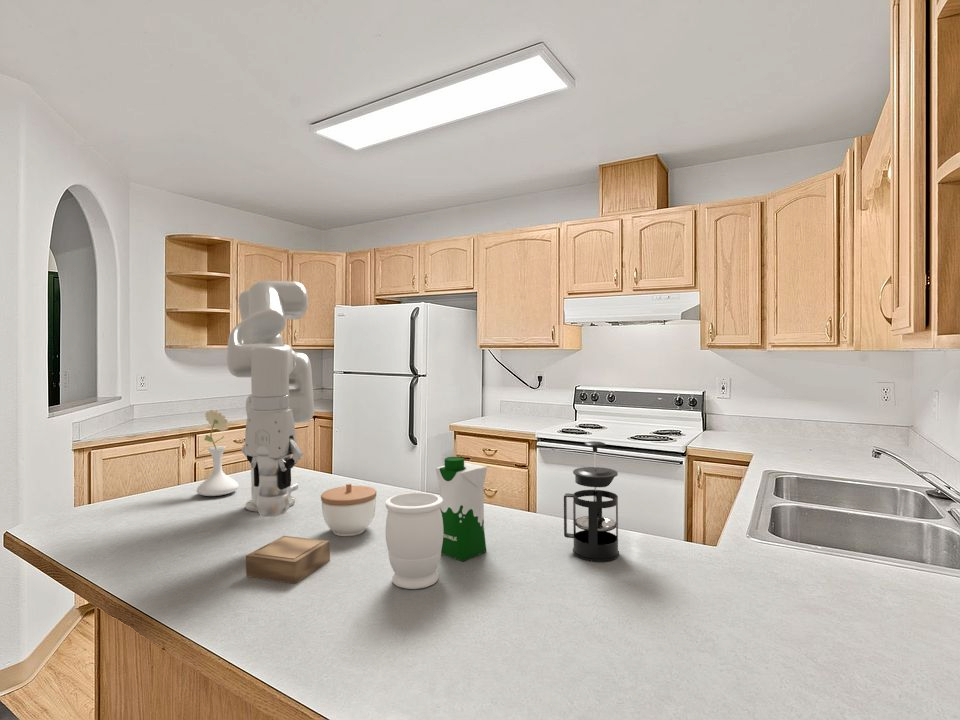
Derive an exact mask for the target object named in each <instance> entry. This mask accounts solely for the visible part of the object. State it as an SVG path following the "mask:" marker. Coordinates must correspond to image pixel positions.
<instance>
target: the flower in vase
mask: <svg viewBox="0 0 960 720" xmlns="http://www.w3.org/2000/svg"><path fill="white" fill-rule="evenodd" d="M204 415H205V420H206V421H207V422H208V424H209V425H211V430H210V436H209V435H208V434H206V435H205V437H204V441H207V442H209V443H212V445H213V446H210V447H208V448H207V450H208V451H209V453H210V455H211V457H212V458H211V459H212V465H213V467H212V472H211V474H210V476H208V477H206V479H205V480H204V481H202V482H201V483H200V484H199V486H197V487H196V492H197V494H198V495H200V496H205V497H206V496H207V497H216V496H217V497H218V496H223V495H228V494H231V493H233V492H235V491H237V490H238V489H239V487H240V485H239V483H238V482H237V481H236V480H235V479H233V478H232V477H230V476H229V475H227V474H226V473H225V472H224V471H223V467H222V466H223V465H222V463H223V462H222V461H223V454H224V452H225V450H226V448H227V446H226V445H225V446H224V445H218V446H217V445H216V443H218V442H219V441H220V440H222V439H224V435H222V437H221V438H218V439H217V440H216V441H214V439H213V436H212V435H213V430H214V429H215V430H218V431H221V432H224V431H227V430H229V425H230V424H229V422H228V419H227V418H226V415H224V414H222V412H219V411H218V410H217V409H216V410H215V411H214V410H213V409H211V408H210V409H209V410H208V411H206V412H205V414H204Z"/></svg>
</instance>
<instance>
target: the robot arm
mask: <svg viewBox="0 0 960 720" xmlns="http://www.w3.org/2000/svg"><path fill="white" fill-rule="evenodd" d="M308 306H309V296H308V291H307V289H306V287H305V286H304V284H302V283H300V282H298V281H289V280H288V281H284V280H280V281H279V280H261V281H257V282H256V283H254V284H252V285H251V287H249V289H246V290H244V291H242V292H241V293H240V294H239V296H238V309H239V314H240V315H239V316H240V317H241V321H240V322H238V324H236V325H235V327H234V328H233V329H232V330H231V331H230V333H229V335H228V339H227V351H226V352H227V353H226V354H227V355H226V363H227V364H226V365H227V370H228V371H229V373H230V374H231V375H232V376H234V377H236V378H250V381H251V383H250V385H251V387H250V388H251V393H250V394H249V395H248V396H247V398H246V401H245V412H246V424H245V432H244V434H245V436H244V438H245V439H244V445H243V447H242V448H241V449H240V451H241V453H242V454H243V455H244V456H245V457H246V459H247V461H248V462H249V463H250V486H251V487H250V488H251V490H250V492H251V499H250V500H248V501H247V502H246V503H245V509H246V510H248V511H251V512H256V513H257V512H258V510H257V497H258V495H259V494H258V491H259V472H258V463H257V458H256V457H257V456H258V455H257V452H256V450H257V449H258V447H260V446H262V445H264V447H265V446H266V448H267V450H268V452H269V456H268V457H269V458H272V459H278V462H279V465H280V468H281V471H279V473H278V475H279V489H281V490H283V489H285V488H287V493H288V496H289V507H291V506H293V505H294V504H295V503H296V499H295V497H294V496H292V495H291V493H292V492H294V491H297V490H298V489H299V485H298V483H292V469H293V468H294V466H295V465H296V464H297V462H298V461H300V460H301V459H302V457H304V452H303V451H302V449H301V448H300V447H299V446H298V443H297V434H296V425H295V424H303V423H307V422H310V421H311V420H312V419H313V417H314V413H315V412H314V411H315V402H314V401H315V399H314V387H313V373H312V372H313V371H312V365H311V364H312V363H311V360H310V358H309V356H308V355H307V354H306V353H304V352H297V351H294V350H293V348H292V347H291V346H290V345H288V344H287V343H286V344H285V343H283V338H282V335H281V333H282V332H283V331H284V329H285V327H286V323H287V322H286V321H287V320H290V321H292V320H300V319H302V318H303V317H304V316H305V314H306V313H307V310H308ZM290 387H294V389H292V388H290ZM291 455H292V456H291ZM284 458H286V463H285V460H284Z"/></svg>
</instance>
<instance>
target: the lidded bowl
mask: <svg viewBox="0 0 960 720" xmlns="http://www.w3.org/2000/svg"><path fill="white" fill-rule="evenodd" d="M320 501H321V510H322V517H323V520H324V522H325V524H326V526H327V527H328V528H329V530H331V531H332V532H333V534H334V535H335V536H338V537H339V536H340V537H351V536H352V537H354V536H357V535H360V534H361V535H362V534H363V533H365V531H366V529H367V528H368V527H369V526H370V524H371V523H372V522H373V519H374V517H375V514H376V513H375V512H376V508H377V490H376V489H375V488H374V487H371V486H367V485H366V486H365V485H352V483H347V484H346V485H345V486H338V487H333V488H330V489H327V490H326V491H323V492H322V493H321V495H320Z"/></svg>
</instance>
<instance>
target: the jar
mask: <svg viewBox="0 0 960 720" xmlns="http://www.w3.org/2000/svg"><path fill="white" fill-rule="evenodd" d="M442 504H443V498H442V497H441V496H440V494H435V493H429V492H408V493H406V492H405V493H400V494H395V495H393V496H390V497H389V498H387V499H386V500H385V508H386V509H387V510H388V512H387V516H386V520H385V542H386V548H387V551H388V559H389V560H388V561H389V563H390V566H391V568H392V571H393V572H394V574H393V576H392V579H391V581H392V583H393V584H394V585H395V586H397V587H398V588H401V589H405V590H406V589H407V590H417V589H419V590H420V589H424V588H429V587H430V586H432V585H434V584H436V583H437V582H438V580H439V578H440V577H439V573H438V571H437V568H438V566H439V565H440V562H441V558H442V557H441V556H442V554H441V549H442V544H443V532H444V531H443V519H442V514H441V510H440V507H441V506H442Z"/></svg>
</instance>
